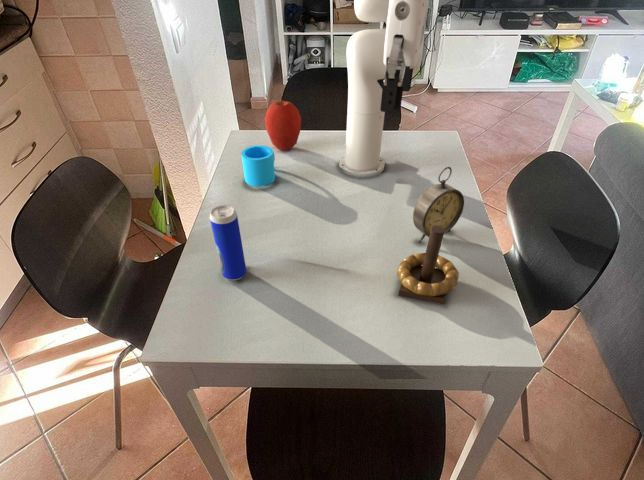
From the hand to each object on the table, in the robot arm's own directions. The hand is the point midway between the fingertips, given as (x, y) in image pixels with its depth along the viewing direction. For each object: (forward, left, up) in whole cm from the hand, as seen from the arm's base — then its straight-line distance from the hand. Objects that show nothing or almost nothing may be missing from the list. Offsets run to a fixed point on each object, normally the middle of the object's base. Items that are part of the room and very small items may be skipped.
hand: (395, 100), depth 73 cm
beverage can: (+18, -27, -31) cm, 45 cm away
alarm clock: (-8, +11, -31) cm, 33 cm away
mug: (-21, -36, -31) cm, 52 cm away
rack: (+10, +12, -30) cm, 34 cm away
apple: (-40, -37, -31) cm, 62 cm away
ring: (+9, +12, -28) cm, 32 cm away
